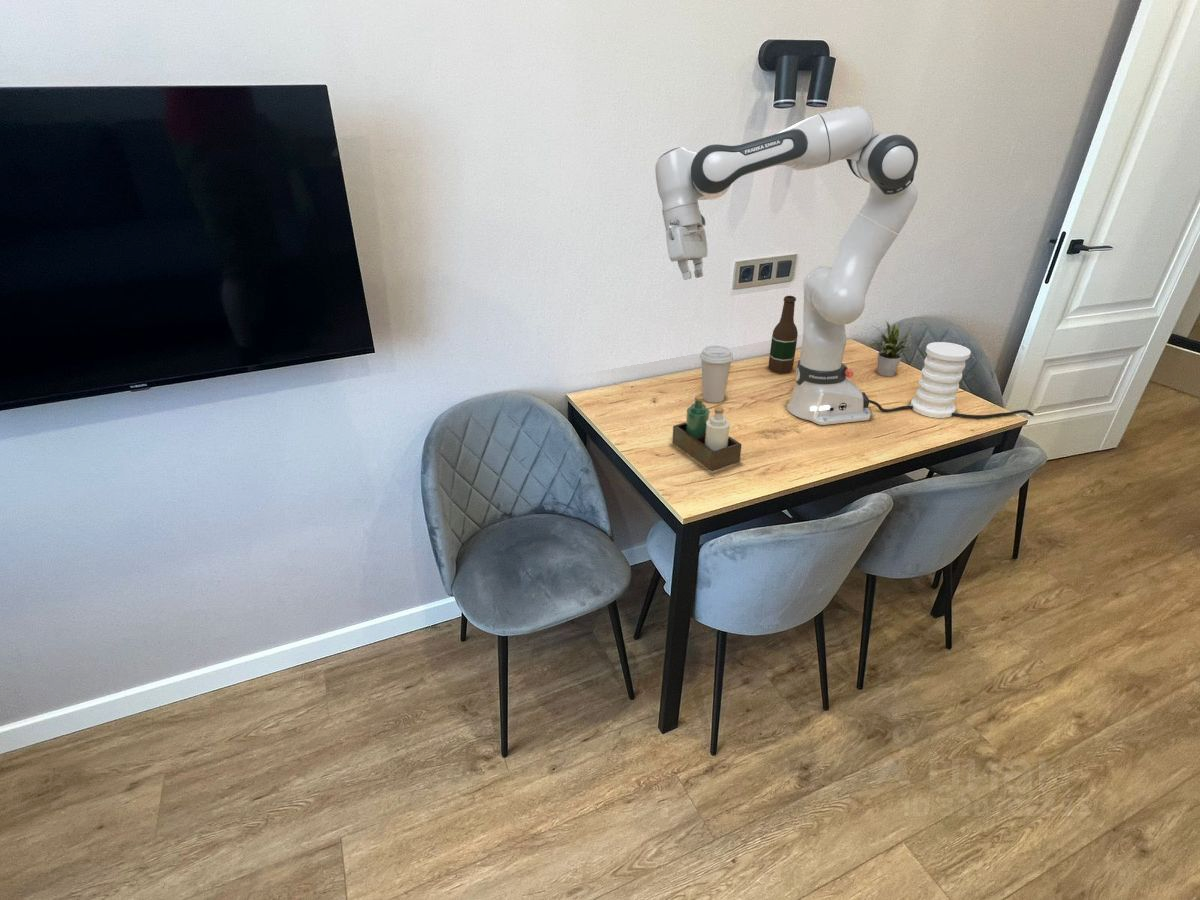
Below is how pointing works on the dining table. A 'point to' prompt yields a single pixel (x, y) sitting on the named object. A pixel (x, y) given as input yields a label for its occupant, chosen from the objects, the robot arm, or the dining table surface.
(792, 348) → the beer bottle
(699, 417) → the green bottle
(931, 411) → the decorative container
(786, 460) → the dining table surface
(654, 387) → the dining table surface
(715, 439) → the cream bottle
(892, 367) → the house plant
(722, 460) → the caddy
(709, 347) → the coffee cup
